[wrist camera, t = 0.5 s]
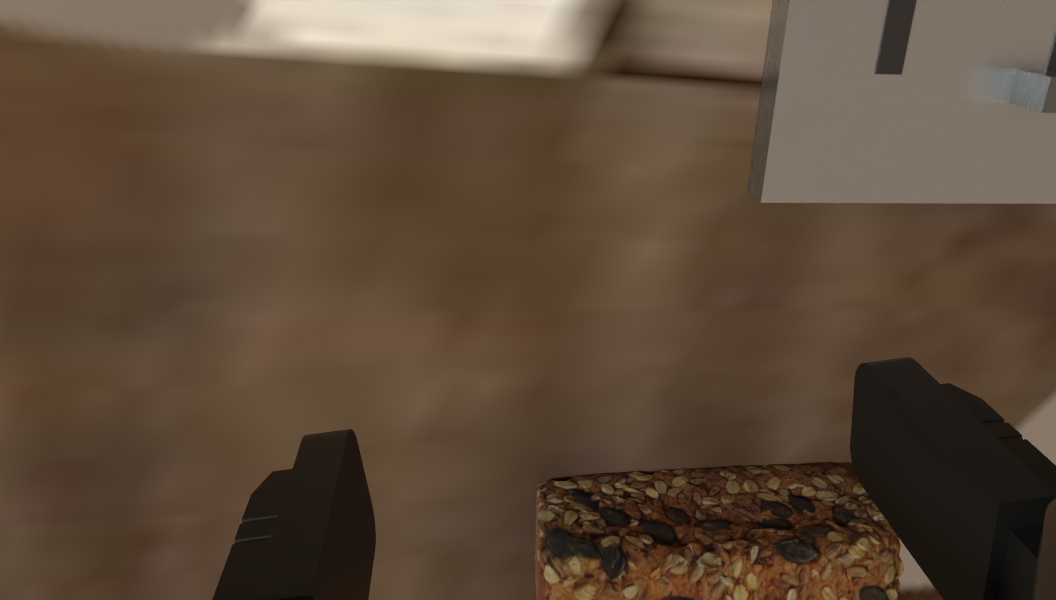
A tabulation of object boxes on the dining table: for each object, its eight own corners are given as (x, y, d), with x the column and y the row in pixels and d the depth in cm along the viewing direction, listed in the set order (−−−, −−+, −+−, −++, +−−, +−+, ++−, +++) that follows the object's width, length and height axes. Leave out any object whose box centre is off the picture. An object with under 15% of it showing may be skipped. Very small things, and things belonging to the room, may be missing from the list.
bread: (528, 607, 51) (543, 753, 41) (529, 461, 46) (546, 588, 37) (822, 592, 52) (900, 731, 43) (850, 449, 48) (942, 570, 39)
